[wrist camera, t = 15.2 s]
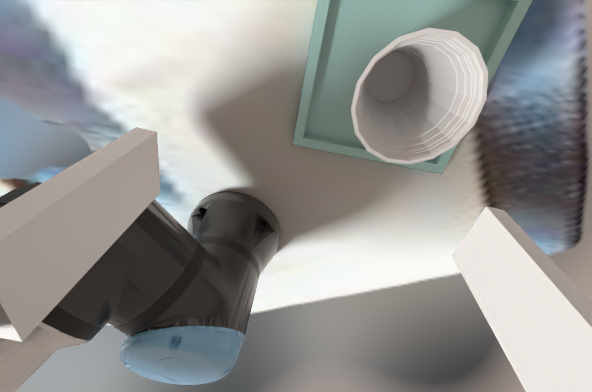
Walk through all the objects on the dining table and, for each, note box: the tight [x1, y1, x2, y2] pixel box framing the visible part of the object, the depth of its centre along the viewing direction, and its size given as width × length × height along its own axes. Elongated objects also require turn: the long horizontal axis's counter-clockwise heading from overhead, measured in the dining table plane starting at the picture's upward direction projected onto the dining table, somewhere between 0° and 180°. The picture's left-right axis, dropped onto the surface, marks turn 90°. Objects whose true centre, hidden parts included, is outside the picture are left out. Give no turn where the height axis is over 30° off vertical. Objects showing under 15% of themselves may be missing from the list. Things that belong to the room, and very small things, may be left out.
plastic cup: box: [351, 28, 488, 164], centre depth 28 cm, size 11×11×12 cm
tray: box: [292, 0, 533, 174], centre depth 32 cm, size 20×20×2 cm
